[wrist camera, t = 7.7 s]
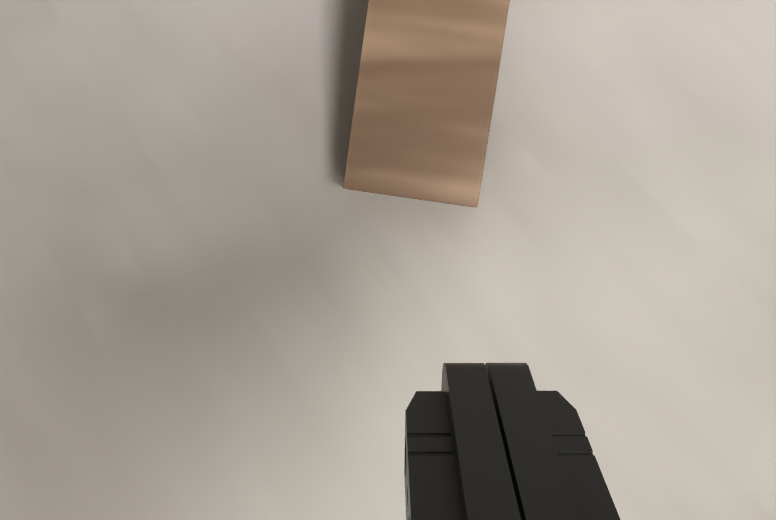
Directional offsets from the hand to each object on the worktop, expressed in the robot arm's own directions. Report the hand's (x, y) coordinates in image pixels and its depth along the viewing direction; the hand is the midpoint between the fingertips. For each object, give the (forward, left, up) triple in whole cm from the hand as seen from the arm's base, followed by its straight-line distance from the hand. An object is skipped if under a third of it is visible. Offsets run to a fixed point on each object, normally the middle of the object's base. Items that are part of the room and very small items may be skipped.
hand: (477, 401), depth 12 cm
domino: (+1, +9, -11) cm, 14 cm away
